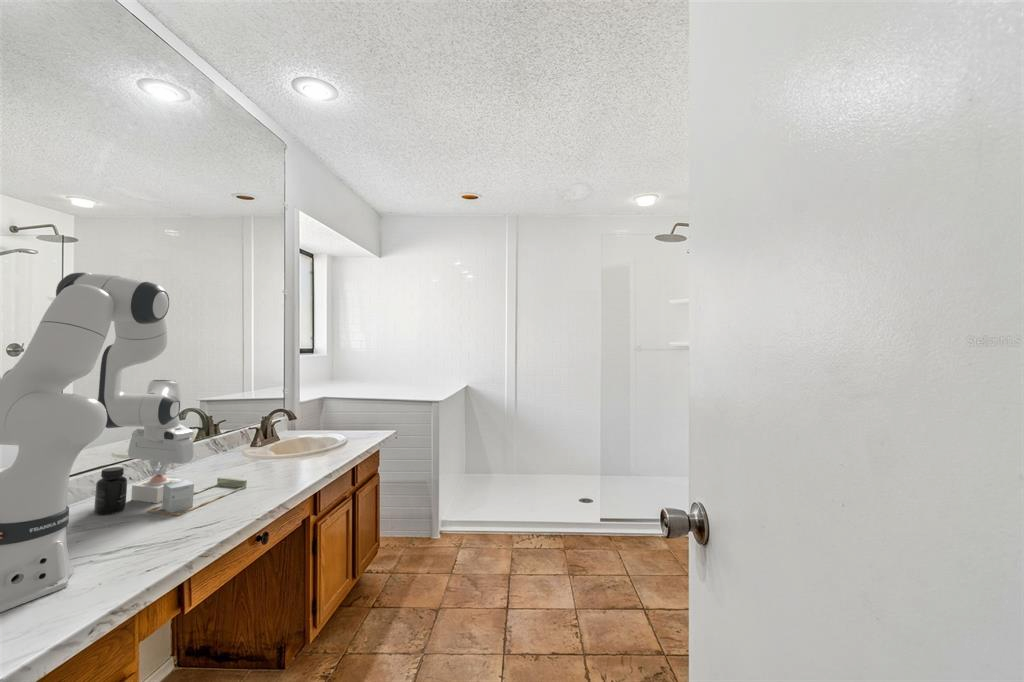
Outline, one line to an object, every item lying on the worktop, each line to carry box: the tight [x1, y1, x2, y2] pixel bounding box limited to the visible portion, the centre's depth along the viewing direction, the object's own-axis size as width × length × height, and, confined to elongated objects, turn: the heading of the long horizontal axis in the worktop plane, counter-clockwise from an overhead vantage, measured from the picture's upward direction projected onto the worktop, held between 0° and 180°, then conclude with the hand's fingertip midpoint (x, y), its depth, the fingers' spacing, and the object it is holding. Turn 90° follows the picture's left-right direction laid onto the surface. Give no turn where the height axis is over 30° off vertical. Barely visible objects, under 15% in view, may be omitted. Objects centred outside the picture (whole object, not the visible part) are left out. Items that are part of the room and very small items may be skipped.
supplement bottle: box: [93, 466, 128, 515], centre depth 132 cm, size 7×7×12 cm
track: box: [146, 476, 248, 517], centre depth 145 cm, size 27×10×2 cm, turn 172°
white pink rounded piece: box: [146, 475, 170, 487], centre depth 144 cm, size 6×6×6 cm
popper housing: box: [130, 477, 184, 504], centre depth 144 cm, size 9×9×4 cm
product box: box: [161, 479, 195, 513], centre depth 136 cm, size 6×6×7 cm
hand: (159, 474), depth 144 cm, fingers closed, pressing on white pink rounded piece
